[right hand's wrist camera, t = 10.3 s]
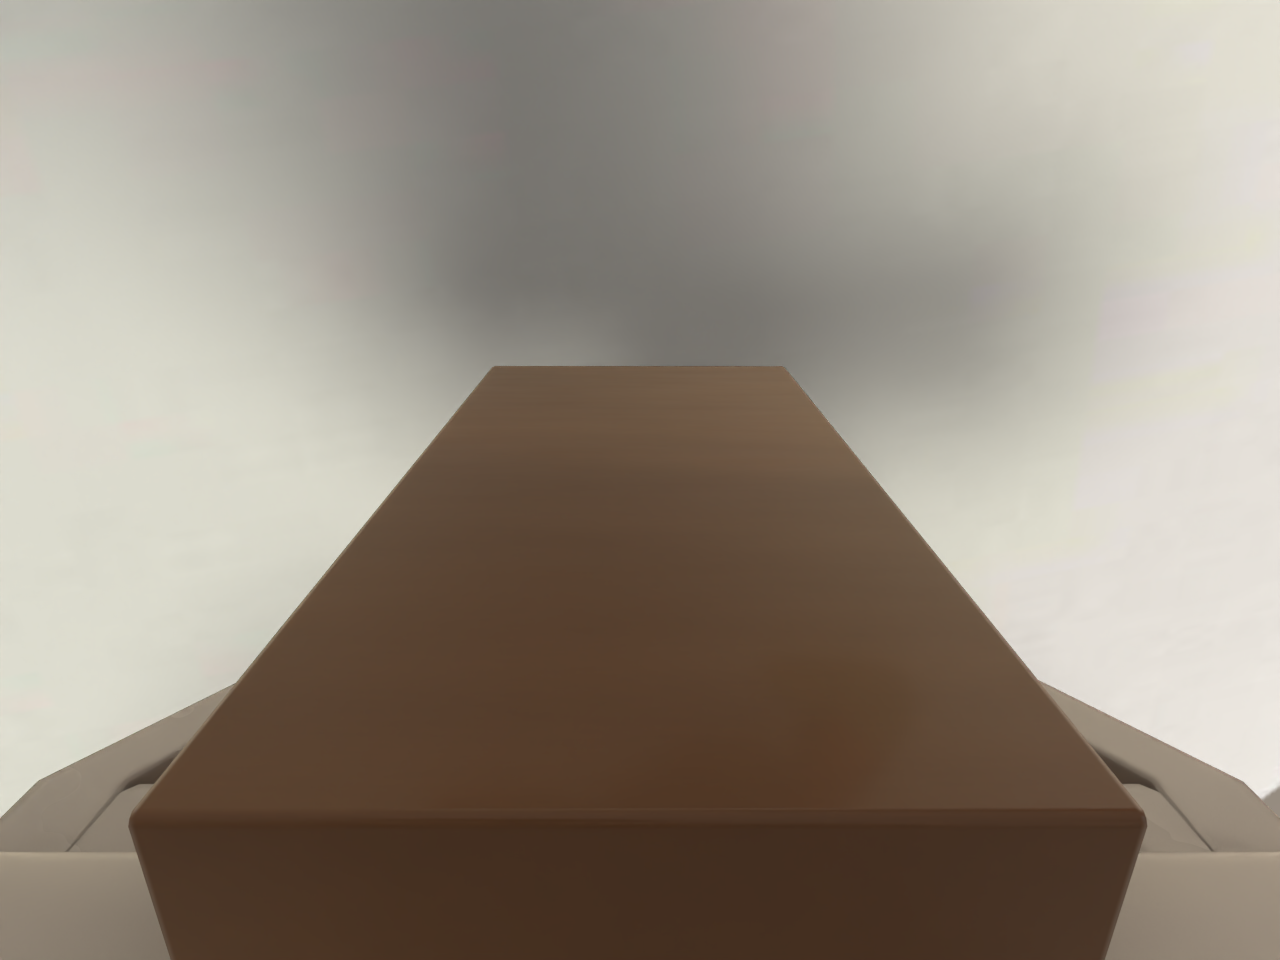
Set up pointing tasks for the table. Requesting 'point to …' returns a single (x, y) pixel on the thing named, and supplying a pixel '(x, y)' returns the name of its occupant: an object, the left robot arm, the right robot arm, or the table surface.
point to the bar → (638, 715)
